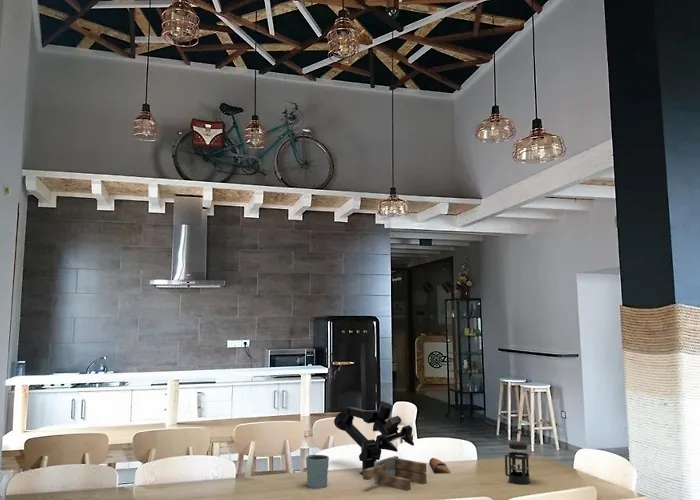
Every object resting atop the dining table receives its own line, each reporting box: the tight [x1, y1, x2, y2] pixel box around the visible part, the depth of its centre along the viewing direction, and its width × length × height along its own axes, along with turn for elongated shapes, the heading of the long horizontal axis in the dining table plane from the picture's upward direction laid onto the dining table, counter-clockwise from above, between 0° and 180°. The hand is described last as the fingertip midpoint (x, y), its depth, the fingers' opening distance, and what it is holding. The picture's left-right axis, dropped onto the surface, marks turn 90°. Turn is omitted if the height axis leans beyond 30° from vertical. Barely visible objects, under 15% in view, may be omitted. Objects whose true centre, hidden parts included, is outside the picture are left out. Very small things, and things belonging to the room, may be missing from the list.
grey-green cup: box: [305, 454, 330, 489], centre depth 244 cm, size 10×10×12 cm
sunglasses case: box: [428, 457, 451, 475], centre depth 274 cm, size 18×7×7 cm, turn 0°
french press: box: [504, 428, 531, 486], centre depth 253 cm, size 12×9×23 cm
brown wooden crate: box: [373, 455, 428, 491], centre depth 249 cm, size 17×16×9 cm
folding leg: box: [362, 464, 386, 481], centre depth 242 cm, size 14×2×4 cm, turn 141°
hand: (405, 447), depth 245 cm, fingers open, 9 cm apart
